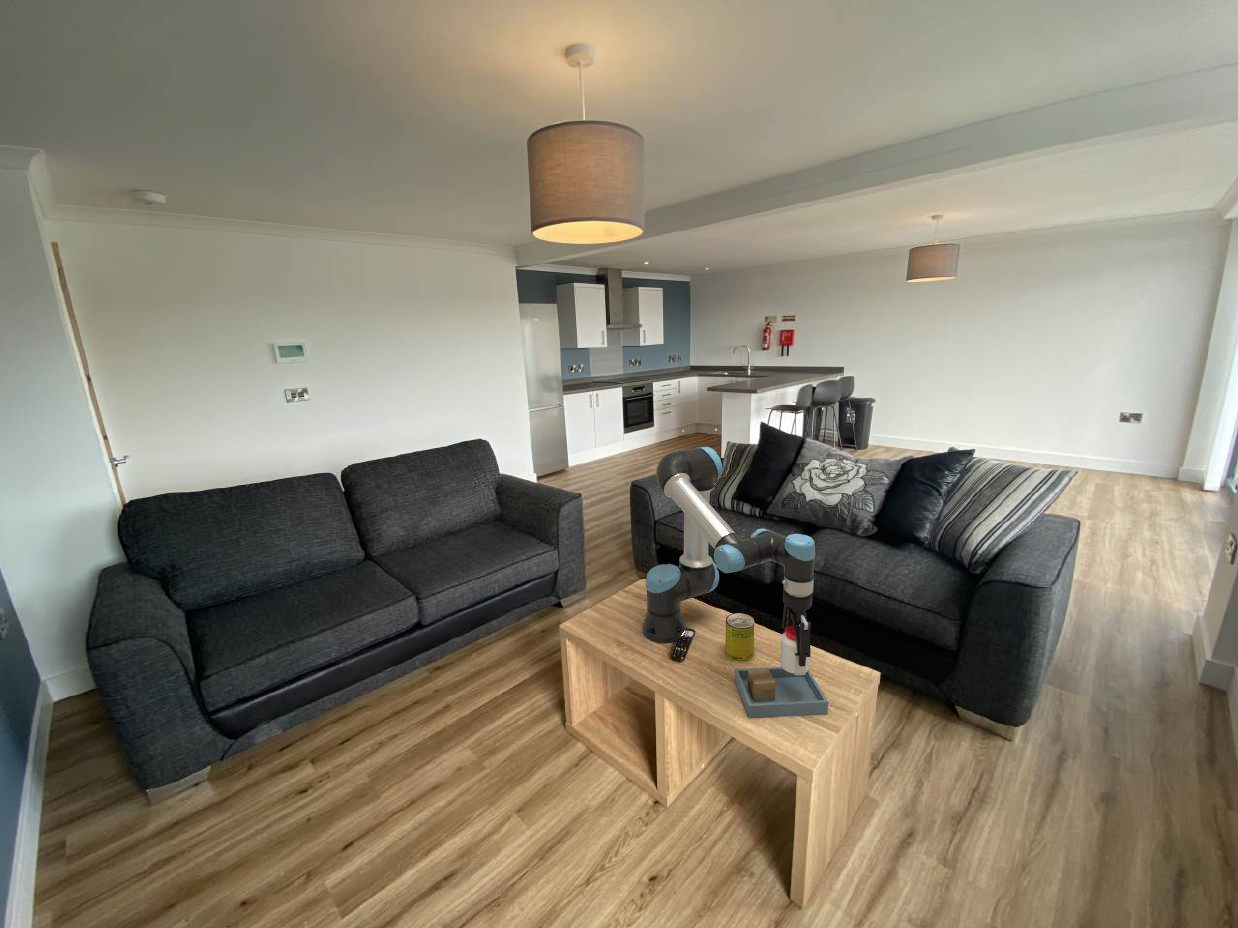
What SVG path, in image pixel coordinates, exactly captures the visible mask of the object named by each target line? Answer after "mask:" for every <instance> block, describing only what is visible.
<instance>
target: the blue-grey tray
mask: <svg viewBox="0 0 1238 928" xmlns="http://www.w3.org/2000/svg"><path fill="white" fill-rule="evenodd" d="M760 669H769V671H770V673H771V675H772V676H773V678H774V680H775V682H776V689H775V701H767V702H754V701H753V699H752V697H751V695H750V692H749V690H748V670H760ZM734 683H735V685H736V688H737V691H738V693H739V696H740V698H741V701H742V703H743V707H744V709H745V711H746V714H747V717H748V719H754V718H755V719H756V718H773V717H792V716H812V715H813V716H815V715H828V714H829V701H828V698H827V697H826V696H825V694H824V692H823V690H822V689H821V687H820V686H819V684H818V683H817V681H816V679H815V678H814V676H813V674H812V673H811V671H810V670H808V671H807V672H806V674H805V675H795V674H793V673H790V672H787V671H786V670H784V669H783V668H782V667H781V666H779V667H777V666H776V667H773V666H772V667H757V668H739V669H737V668H736V669H734Z"/></svg>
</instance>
